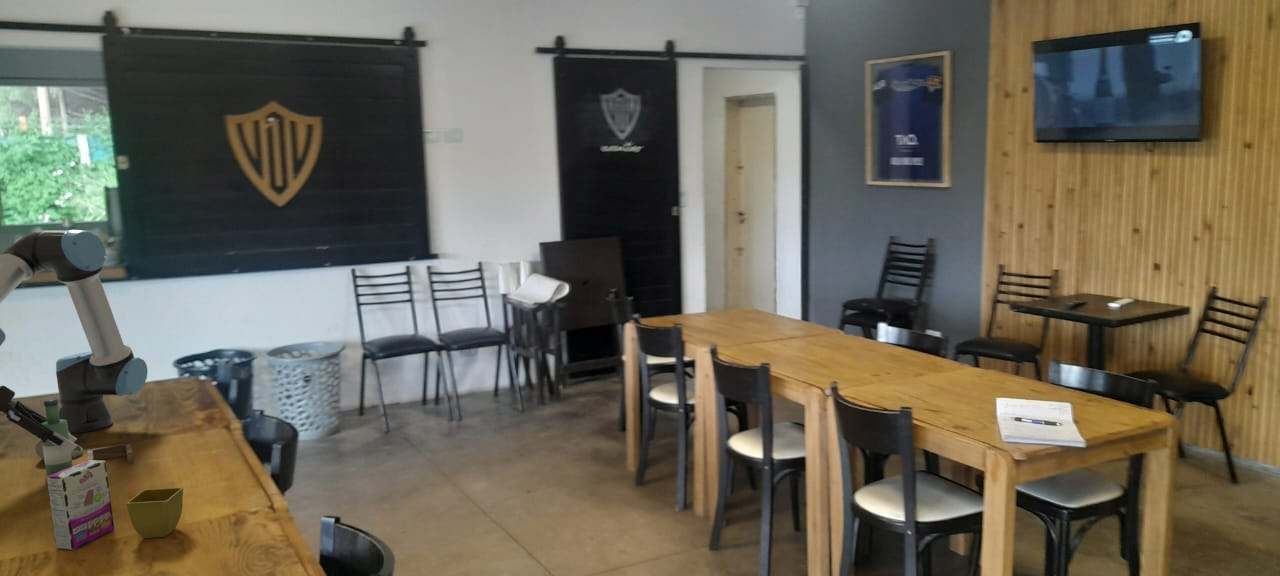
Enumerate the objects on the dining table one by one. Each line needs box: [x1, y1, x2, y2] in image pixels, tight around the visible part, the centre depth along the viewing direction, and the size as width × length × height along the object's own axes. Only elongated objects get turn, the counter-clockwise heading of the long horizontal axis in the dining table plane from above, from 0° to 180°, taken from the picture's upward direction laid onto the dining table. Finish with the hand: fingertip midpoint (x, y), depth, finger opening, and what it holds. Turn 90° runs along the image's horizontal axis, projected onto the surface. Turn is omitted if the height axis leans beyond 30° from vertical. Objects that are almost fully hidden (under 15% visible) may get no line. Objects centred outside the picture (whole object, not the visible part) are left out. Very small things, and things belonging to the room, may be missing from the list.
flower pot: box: [126, 487, 184, 539], centre depth 204 cm, size 9×9×9 cm
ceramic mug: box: [35, 431, 83, 460], centre depth 260 cm, size 11×8×8 cm
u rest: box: [87, 442, 134, 465], centre depth 255 cm, size 10×10×3 cm
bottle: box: [41, 398, 74, 477], centre depth 243 cm, size 6×6×20 cm
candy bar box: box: [46, 459, 115, 551], centre depth 201 cm, size 11×5×16 cm, turn 164°
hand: (72, 446), depth 246 cm, fingers closed on bottle, 6 cm apart
